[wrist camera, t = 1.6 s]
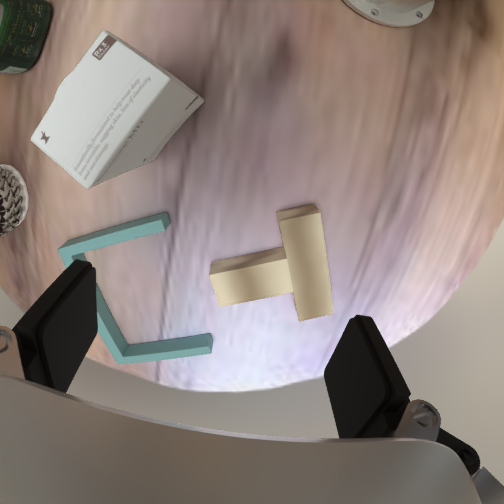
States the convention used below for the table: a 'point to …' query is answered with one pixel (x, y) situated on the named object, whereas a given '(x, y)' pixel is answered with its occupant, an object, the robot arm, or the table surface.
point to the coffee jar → (22, 33)
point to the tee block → (281, 268)
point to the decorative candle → (12, 198)
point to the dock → (105, 319)
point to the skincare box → (113, 113)
